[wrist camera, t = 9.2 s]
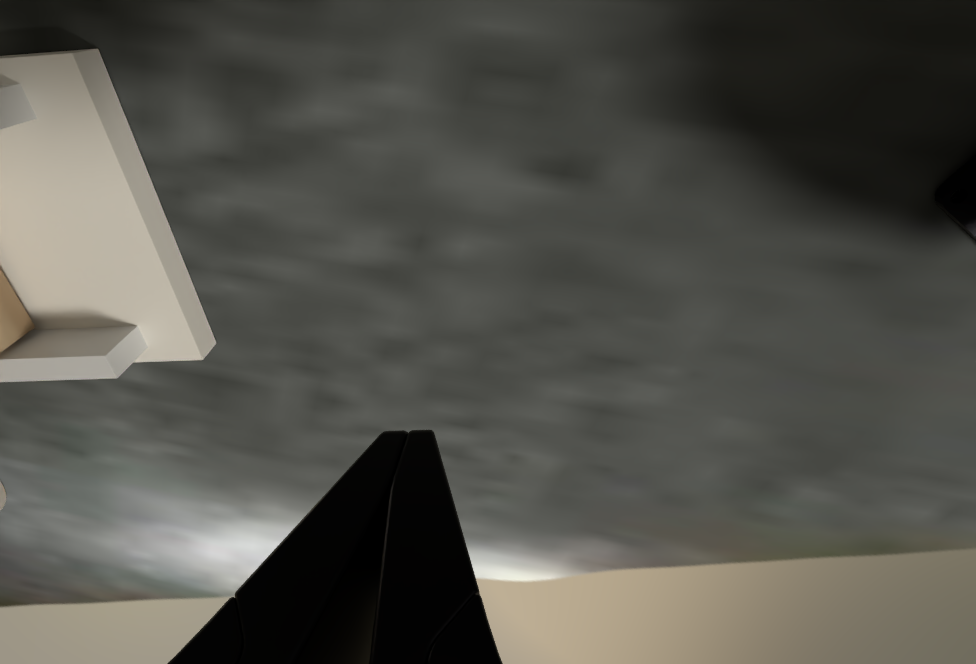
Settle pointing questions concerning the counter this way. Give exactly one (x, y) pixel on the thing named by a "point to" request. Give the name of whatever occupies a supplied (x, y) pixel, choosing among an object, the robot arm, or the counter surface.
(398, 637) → the robot arm
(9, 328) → the light wood block
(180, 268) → the housing
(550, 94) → the counter surface
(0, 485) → the coffee cup
